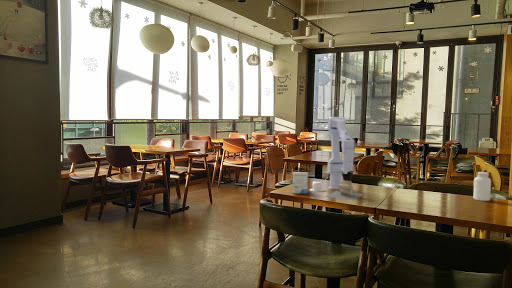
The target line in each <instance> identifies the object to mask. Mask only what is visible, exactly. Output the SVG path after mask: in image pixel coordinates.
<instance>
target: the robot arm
mask: <svg viewBox="0 0 512 288" xmlns="http://www.w3.org/2000/svg"><path fill="white" fill-rule="evenodd" d="M346 120H347V119H346V117H345V116H329V117H328V119H327V130H328V131H329V132H330V141H331V143H330V144H331V158H330V159H329V160H328V162H327V165H326V166H327V167H326V171H327V173H328V174H329V186H328V187H327V189H334V190H340V188H339V183H340V181H341V180H344V181H351V180H352V177H353V175H354V172H353V171H354V150H355V149H356V141H355V139H353V138H352V137H351V134H350V132H349V131H348V130H347V129H346V123H347V121H346ZM340 141H341V149H340ZM340 150H341V151H340ZM340 152H342V158H341V153H340Z"/></svg>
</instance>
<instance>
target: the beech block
mask: <svg viewBox="0 0 512 288" xmlns="http://www.w3.org/2000/svg"><path fill="white" fill-rule="evenodd" d="M339 188H340V189H339V191H340V193H341V194H345V195H351V194H352V193H354V192H353V191H354V189H353V182H352V181H351V180H350V181H344V179H343V180H341V181H340V183H339Z"/></svg>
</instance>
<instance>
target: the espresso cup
mask: <svg viewBox="0 0 512 288" xmlns="http://www.w3.org/2000/svg"><path fill="white" fill-rule="evenodd" d="M312 191H313V192H323V191H325V189H324V188H323V182H322V181H312V188H310V189H309V192H312Z"/></svg>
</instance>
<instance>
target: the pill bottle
mask: <svg viewBox="0 0 512 288" xmlns="http://www.w3.org/2000/svg"><path fill="white" fill-rule="evenodd" d="M489 175H490V174H489V172H485V171H478V172H477V175H476V177H474V179H473V195H472V196H473V199H474V200H476V201H481V202H489V201H490V200H491V191H492V190H491V188H492V187H491V186H492V179H491V178H490V177H489Z"/></svg>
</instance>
